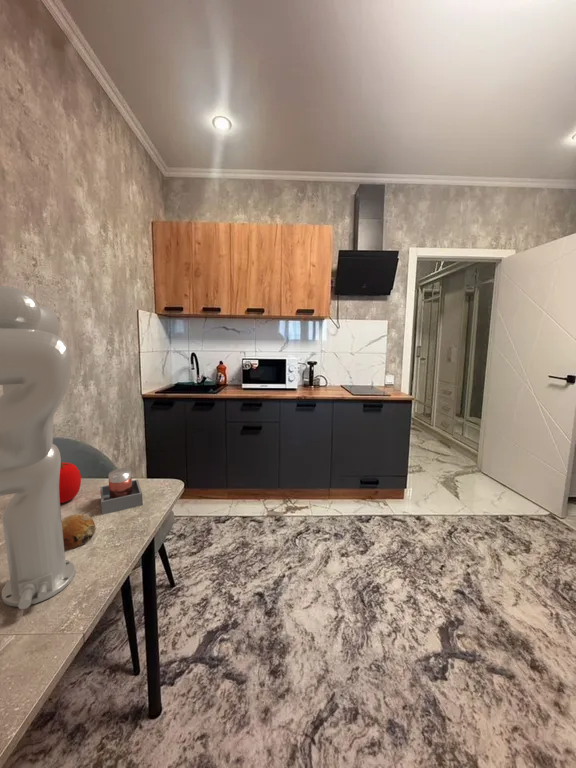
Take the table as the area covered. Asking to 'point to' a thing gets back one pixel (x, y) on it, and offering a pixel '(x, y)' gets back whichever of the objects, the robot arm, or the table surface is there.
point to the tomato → (68, 482)
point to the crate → (121, 499)
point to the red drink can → (120, 483)
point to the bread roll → (77, 530)
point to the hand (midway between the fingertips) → (22, 427)
